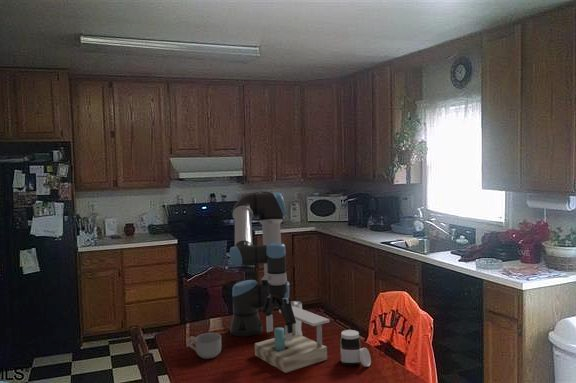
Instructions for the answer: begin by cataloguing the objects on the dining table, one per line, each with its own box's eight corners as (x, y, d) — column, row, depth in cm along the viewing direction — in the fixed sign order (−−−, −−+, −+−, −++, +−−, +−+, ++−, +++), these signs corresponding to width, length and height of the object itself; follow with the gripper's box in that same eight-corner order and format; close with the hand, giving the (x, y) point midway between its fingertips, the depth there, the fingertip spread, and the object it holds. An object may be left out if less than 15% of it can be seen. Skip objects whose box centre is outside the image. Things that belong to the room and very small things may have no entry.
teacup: (226, 352, 207) (225, 333, 207) (214, 362, 197) (213, 342, 197) (197, 349, 212) (196, 331, 211) (183, 359, 202) (182, 339, 201)
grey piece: (279, 335, 211) (278, 309, 210) (295, 331, 215) (294, 306, 215) (314, 351, 191) (313, 323, 190) (330, 346, 195) (329, 319, 195)
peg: (273, 358, 197) (272, 328, 196) (281, 356, 199) (280, 326, 199) (278, 361, 194) (277, 331, 193) (287, 359, 196) (286, 329, 195)
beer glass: (301, 338, 220) (300, 305, 219) (286, 338, 221) (285, 305, 221) (304, 333, 227) (303, 301, 226) (289, 332, 228) (288, 300, 227)
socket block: (255, 355, 203) (254, 343, 203) (295, 343, 214) (294, 332, 214) (285, 372, 185) (284, 359, 184) (327, 359, 196) (326, 346, 196)
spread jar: (340, 357, 197) (339, 328, 197) (368, 356, 197) (367, 328, 196) (342, 370, 185) (341, 339, 185) (372, 369, 185) (371, 338, 184)
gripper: (252, 278, 203) (254, 329, 204) (287, 290, 183) (289, 347, 184) (268, 275, 207) (270, 325, 209) (303, 287, 187) (305, 342, 188)
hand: (279, 336), depth 196 cm, fingers open, 13 cm apart
